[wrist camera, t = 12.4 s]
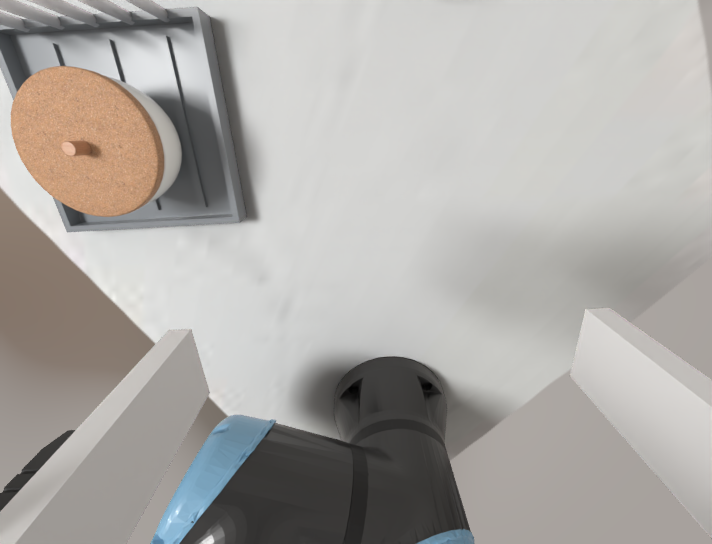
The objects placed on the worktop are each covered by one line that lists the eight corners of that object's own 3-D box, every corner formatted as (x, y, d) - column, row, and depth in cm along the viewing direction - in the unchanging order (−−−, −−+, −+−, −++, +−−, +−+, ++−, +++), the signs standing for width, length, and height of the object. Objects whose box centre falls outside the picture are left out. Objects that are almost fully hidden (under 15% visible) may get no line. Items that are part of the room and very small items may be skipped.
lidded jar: (202, 206, 35) (152, 231, 26) (95, 191, 34) (8, 211, 26) (198, 90, 31) (138, 75, 22) (77, 71, 30) (-35, 47, 22)
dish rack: (246, 216, 37) (215, 241, 28) (84, 225, 37) (7, 253, 29) (209, 14, 30) (152, -31, 21) (9, 28, 30) (-122, -11, 22)
